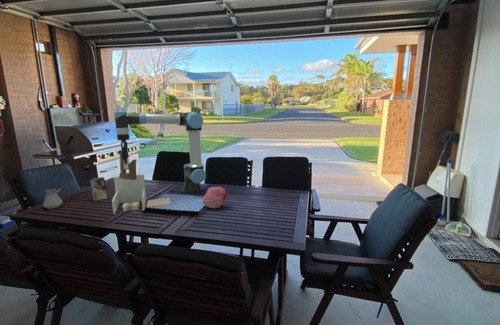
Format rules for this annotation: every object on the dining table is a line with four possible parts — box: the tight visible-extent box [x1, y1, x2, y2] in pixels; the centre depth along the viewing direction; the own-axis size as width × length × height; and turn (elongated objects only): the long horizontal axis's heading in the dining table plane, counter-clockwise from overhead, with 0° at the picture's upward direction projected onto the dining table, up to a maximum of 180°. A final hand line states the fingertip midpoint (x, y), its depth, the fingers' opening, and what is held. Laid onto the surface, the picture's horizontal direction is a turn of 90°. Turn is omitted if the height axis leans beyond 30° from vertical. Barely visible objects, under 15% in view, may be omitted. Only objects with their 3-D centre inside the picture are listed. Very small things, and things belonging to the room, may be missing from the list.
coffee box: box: [90, 176, 108, 202], centre depth 209 cm, size 9×6×16 cm
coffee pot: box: [42, 181, 73, 210], centre depth 196 cm, size 21×12×15 cm, turn 159°
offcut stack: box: [122, 201, 141, 212], centre depth 188 cm, size 11×8×4 cm
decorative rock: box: [202, 186, 228, 210], centre depth 187 cm, size 19×14×15 cm
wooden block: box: [118, 152, 137, 180], centre depth 187 cm, size 4×11×18 cm, turn 81°
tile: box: [146, 197, 172, 208], centre depth 198 cm, size 16×14×1 cm
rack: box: [111, 173, 147, 215], centre depth 191 cm, size 20×22×20 cm
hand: (126, 167), depth 187 cm, fingers open, 5 cm apart
